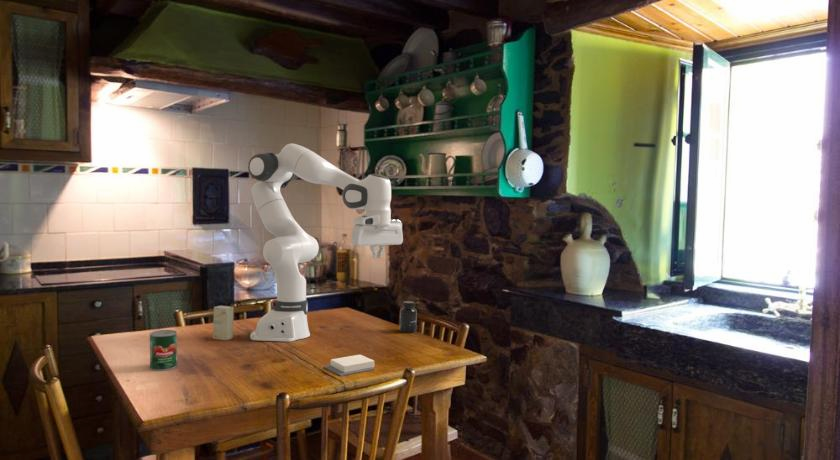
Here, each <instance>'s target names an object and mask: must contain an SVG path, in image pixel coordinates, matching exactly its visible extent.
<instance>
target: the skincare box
mask: <svg viewBox="0 0 840 460" xmlns="http://www.w3.org/2000/svg"><path fill="white" fill-rule="evenodd" d="M212 321H213V326H212V332H213V333H212V338H213V339H214V340H219V341H228V340H232V339H234V306H229V305H217V306H213V320H212Z"/></svg>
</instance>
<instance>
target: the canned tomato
mask: <svg viewBox="0 0 840 460" xmlns="http://www.w3.org/2000/svg"><path fill="white" fill-rule="evenodd" d="M177 333H178V332H177V330H174V329H162V330H155V331H151V332H150V333H149V369H150V370H151V371H156V372H160V371H162V372H163V371H169V370H173V369H175V368H177V366H178V363H177V362H178V355H177V354H178V349H177V348H178V347H177V346H178V344H177V343H178V341H177V339H178V338H177V337H178V335H177Z"/></svg>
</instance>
